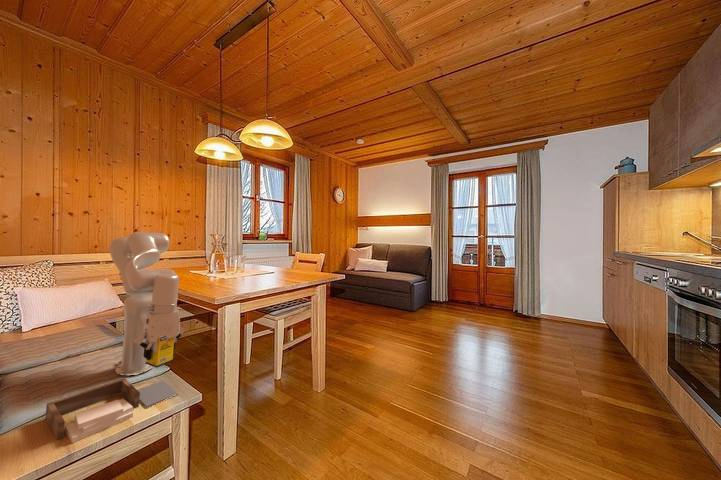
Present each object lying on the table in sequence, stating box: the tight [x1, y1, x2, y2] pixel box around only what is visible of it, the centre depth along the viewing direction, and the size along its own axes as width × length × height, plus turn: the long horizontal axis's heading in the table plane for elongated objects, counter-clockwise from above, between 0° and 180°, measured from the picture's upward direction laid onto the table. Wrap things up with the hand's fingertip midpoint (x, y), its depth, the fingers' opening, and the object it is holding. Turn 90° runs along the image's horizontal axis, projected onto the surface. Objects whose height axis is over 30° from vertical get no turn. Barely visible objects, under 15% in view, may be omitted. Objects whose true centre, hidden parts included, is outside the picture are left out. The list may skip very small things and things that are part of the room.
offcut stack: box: [64, 398, 134, 444], centre depth 86 cm, size 8×14×4 cm, turn 149°
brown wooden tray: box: [45, 377, 140, 441], centre depth 90 cm, size 13×19×5 cm, turn 149°
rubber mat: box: [136, 379, 179, 409], centre depth 102 cm, size 12×10×1 cm
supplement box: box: [145, 336, 175, 369], centre depth 101 cm, size 6×6×11 cm
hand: (159, 354), depth 101 cm, fingers closed on supplement box, 6 cm apart
